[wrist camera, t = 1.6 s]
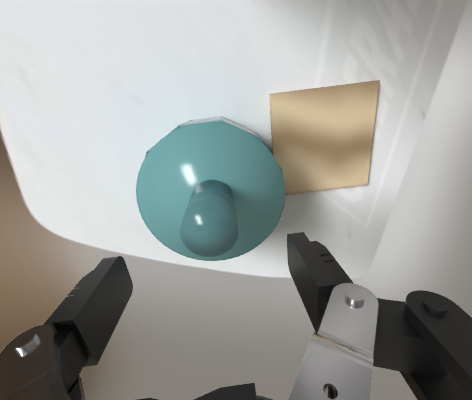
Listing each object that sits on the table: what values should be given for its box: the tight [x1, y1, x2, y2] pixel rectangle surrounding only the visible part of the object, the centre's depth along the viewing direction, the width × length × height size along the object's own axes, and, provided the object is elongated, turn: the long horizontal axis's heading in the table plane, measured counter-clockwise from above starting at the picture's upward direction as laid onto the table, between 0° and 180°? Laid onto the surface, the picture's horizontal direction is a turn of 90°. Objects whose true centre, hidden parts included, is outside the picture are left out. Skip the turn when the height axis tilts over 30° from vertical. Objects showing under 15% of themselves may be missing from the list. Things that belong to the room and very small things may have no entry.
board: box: [269, 80, 380, 195], centre depth 24 cm, size 11×11×1 cm
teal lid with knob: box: [136, 117, 285, 261], centre depth 19 cm, size 12×12×13 cm
